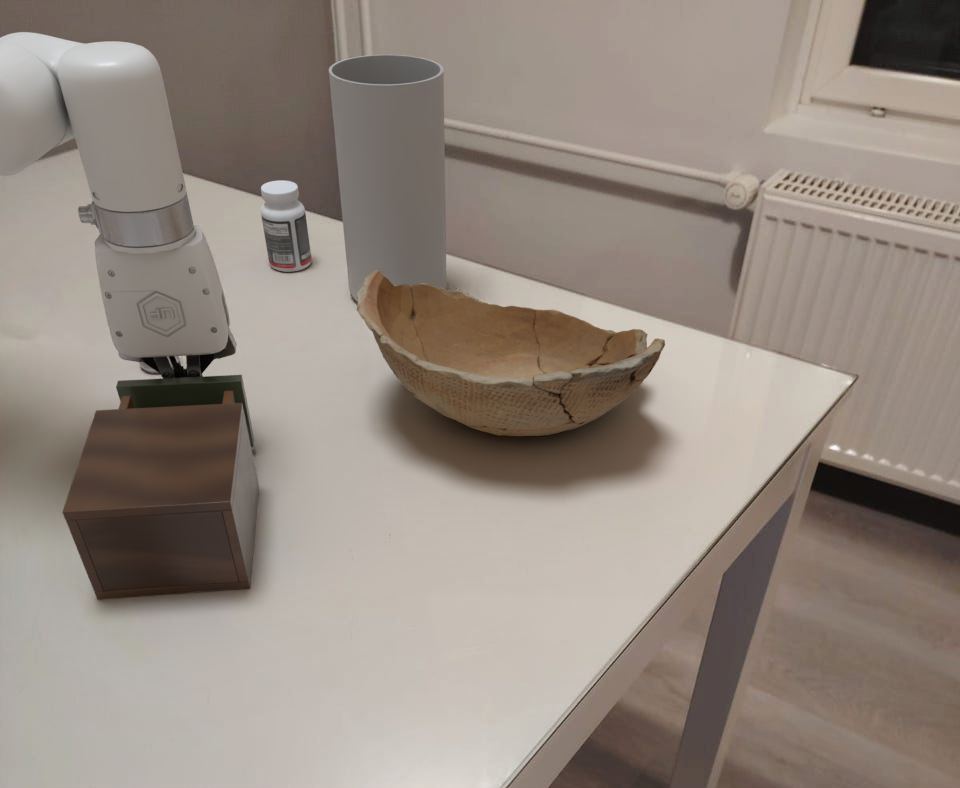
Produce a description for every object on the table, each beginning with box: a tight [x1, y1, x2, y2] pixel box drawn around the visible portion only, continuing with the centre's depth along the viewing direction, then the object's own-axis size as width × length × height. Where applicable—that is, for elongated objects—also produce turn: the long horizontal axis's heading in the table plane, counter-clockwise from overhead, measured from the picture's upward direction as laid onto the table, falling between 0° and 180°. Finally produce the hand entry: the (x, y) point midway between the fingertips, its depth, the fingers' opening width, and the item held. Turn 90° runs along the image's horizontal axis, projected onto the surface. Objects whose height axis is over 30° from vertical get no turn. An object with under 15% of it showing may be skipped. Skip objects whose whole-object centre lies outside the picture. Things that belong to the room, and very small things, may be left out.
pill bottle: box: [260, 179, 312, 273], centre depth 118 cm, size 6×6×10 cm
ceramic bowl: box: [356, 270, 666, 437], centre depth 92 cm, size 30×27×15 cm
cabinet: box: [61, 403, 260, 600], centre depth 77 cm, size 15×13×9 cm
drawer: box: [115, 374, 256, 448], centre depth 84 cm, size 18×11×7 cm, turn 7°
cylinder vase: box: [328, 54, 448, 303], centre depth 107 cm, size 12×12×25 cm
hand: (193, 410), depth 89 cm, fingers closed
